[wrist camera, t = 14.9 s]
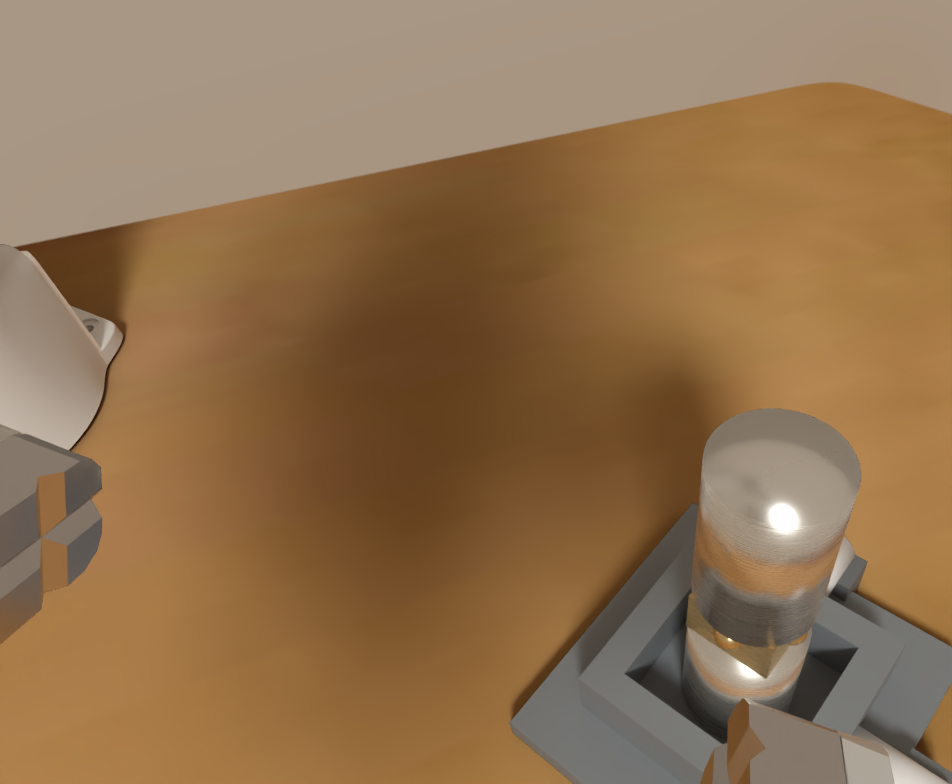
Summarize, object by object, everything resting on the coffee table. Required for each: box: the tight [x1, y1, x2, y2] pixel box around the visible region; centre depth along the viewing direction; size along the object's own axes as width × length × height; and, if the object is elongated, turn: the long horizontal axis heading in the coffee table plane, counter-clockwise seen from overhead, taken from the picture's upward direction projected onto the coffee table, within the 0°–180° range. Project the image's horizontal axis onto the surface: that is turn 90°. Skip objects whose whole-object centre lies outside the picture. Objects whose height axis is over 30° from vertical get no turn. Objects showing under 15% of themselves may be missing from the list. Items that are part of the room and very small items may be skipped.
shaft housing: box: [510, 503, 952, 784], centre depth 32 cm, size 14×14×4 cm
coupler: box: [682, 408, 861, 739], centre depth 27 cm, size 4×4×14 cm
